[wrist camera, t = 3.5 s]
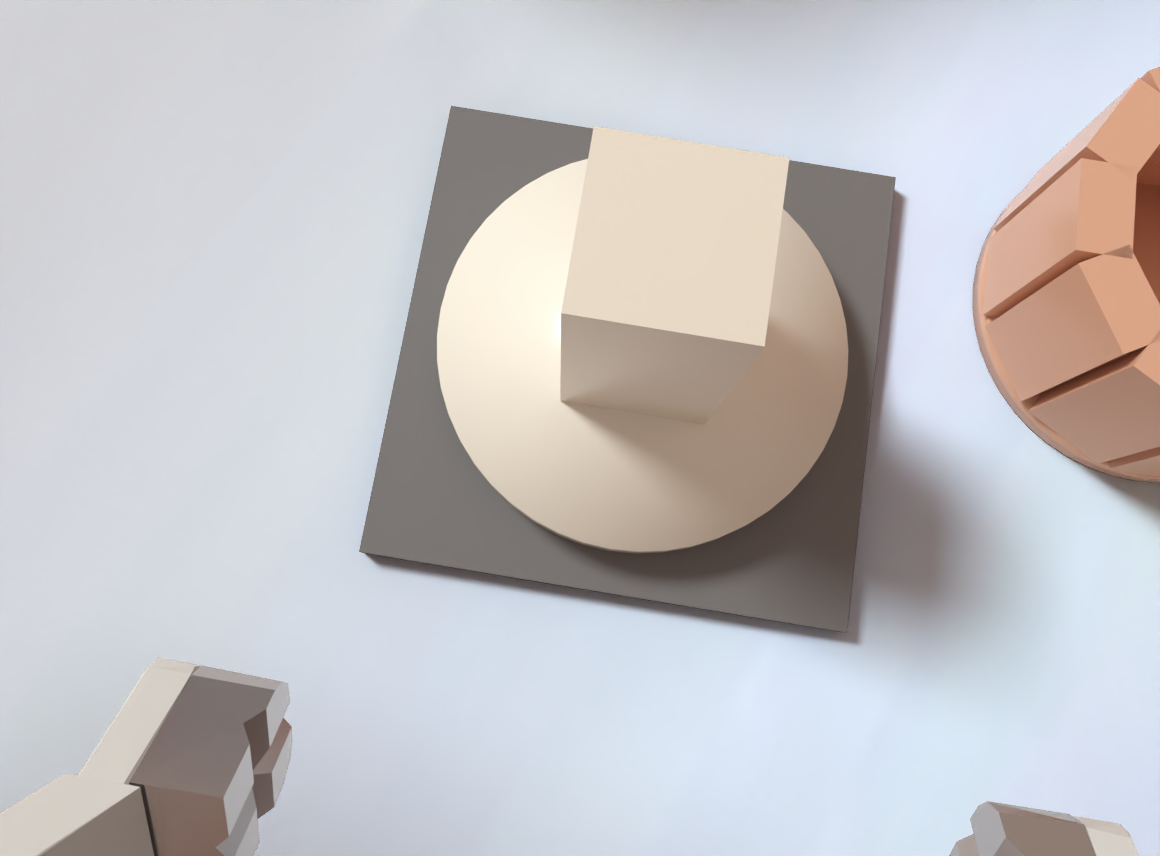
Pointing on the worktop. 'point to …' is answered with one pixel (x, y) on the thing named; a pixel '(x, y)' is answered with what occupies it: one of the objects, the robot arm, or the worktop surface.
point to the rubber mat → (528, 551)
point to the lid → (644, 345)
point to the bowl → (1083, 293)
